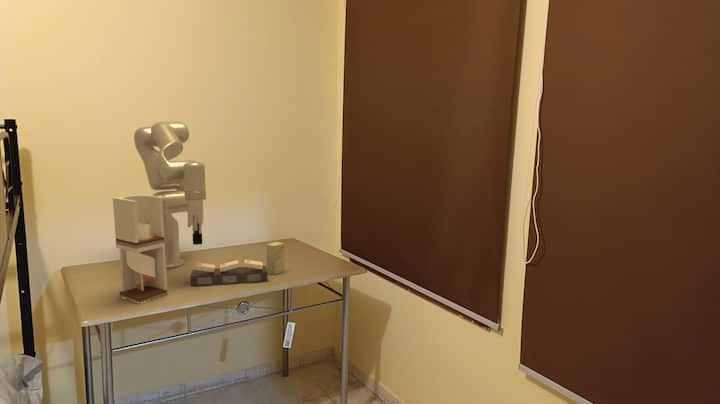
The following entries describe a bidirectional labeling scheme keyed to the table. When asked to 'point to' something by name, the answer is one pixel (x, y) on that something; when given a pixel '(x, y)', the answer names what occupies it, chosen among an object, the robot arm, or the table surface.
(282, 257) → the skincare box
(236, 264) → the cream flat rectangular block
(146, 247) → the display case
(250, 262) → the rocker
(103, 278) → the table surface
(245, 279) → the power strip
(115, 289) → the table surface
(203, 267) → the rocker
